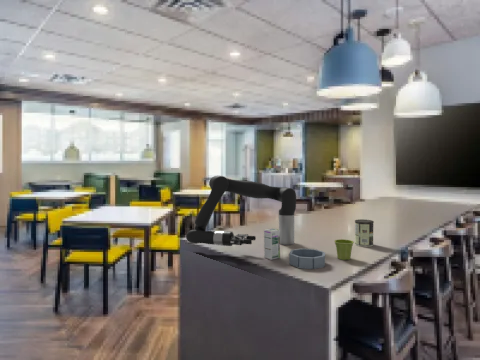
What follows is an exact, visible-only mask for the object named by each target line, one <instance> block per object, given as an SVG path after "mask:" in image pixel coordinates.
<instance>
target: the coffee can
mask: <svg viewBox="0 0 480 360" xmlns="http://www.w3.org/2000/svg"><path fill="white" fill-rule="evenodd" d="M374 223H375V222H374V220H371V219H355V220H354V245H355V246H358V247H364V248H366V247H367V248H370V247H373V246H374Z"/></svg>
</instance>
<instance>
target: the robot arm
mask: <svg viewBox="0 0 480 360" xmlns="http://www.w3.org/2000/svg"><path fill="white" fill-rule="evenodd" d="M208 185H209V188H210V189H211V190H210V192H209V194H208V197H207V199H206V201H205V202H204V203H203V205H202V206H201V208H200V209H199V211H198V213H197V215H196V218H195V221H194V224H195V226H194V229H191V230H188V231H187V233H186V235H185V237H186V240H187V242H188V243H191V244H194V245H195V244H196V245H197V244H206V245H214V246H215V245H216V246H220V247H221V246H223V247H225V246H226V247H232V246H233V245H234V246H242V245H252V242H253V241H256V235H249V234H247V233H246V234H244V233H238V234H236V235H235V234H234V232H233V231H228V230H227V231H224V230H218V231H217V230H207V226H208V224H209V222H210V220H211V218H212V215H213V214H214V211H215V209H216V207H217V205H218V203H219V202H220V200H221V199H222V197H223V196H224V194H225V193H233V194H235V195H238V196H243V197H246V198H247V197H248V198H251V199H269V200H274V201H278V202H280V203H281V206H280V207H281V208H280V209H278V230H280V245H284V246H289V245H294V244H295V212H296V210H297V194H296V190H294V188H292V187H286V186H285V187H283V186H282V187H281V186H280V187H279V186H271V185H267V184H265V183H261V182H257V181H252V180H242V179H241V180H237V179H231V178H227V177H225V176H223V175H214V176H212V177H211V178H210V179H209V181H208Z"/></svg>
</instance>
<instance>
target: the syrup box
mask: <svg viewBox="0 0 480 360" xmlns="http://www.w3.org/2000/svg"><path fill="white" fill-rule="evenodd" d="M263 242H264V243H263V248H264V249H263V251H264V252H263V254H264V256H263V257H264V258H265V259H268V260H271V261H273V260H276V259H280V258H281V250H280V249H281V246H280V245H281V244H280V230H279V228H273V227H272V228H268V229H263Z"/></svg>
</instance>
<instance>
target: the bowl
mask: <svg viewBox="0 0 480 360" xmlns="http://www.w3.org/2000/svg"><path fill="white" fill-rule="evenodd" d="M288 254H289V255H288V264H289V265H290V266H293V267H295V268H299V269H303V270H304V269H308V270H316V269H321V268H325V267H326V252H325V251H323V250H319V249H315V248H305V247H304V248H296V249H295V248H294V249H291V250H290V251H289V253H288Z"/></svg>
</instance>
